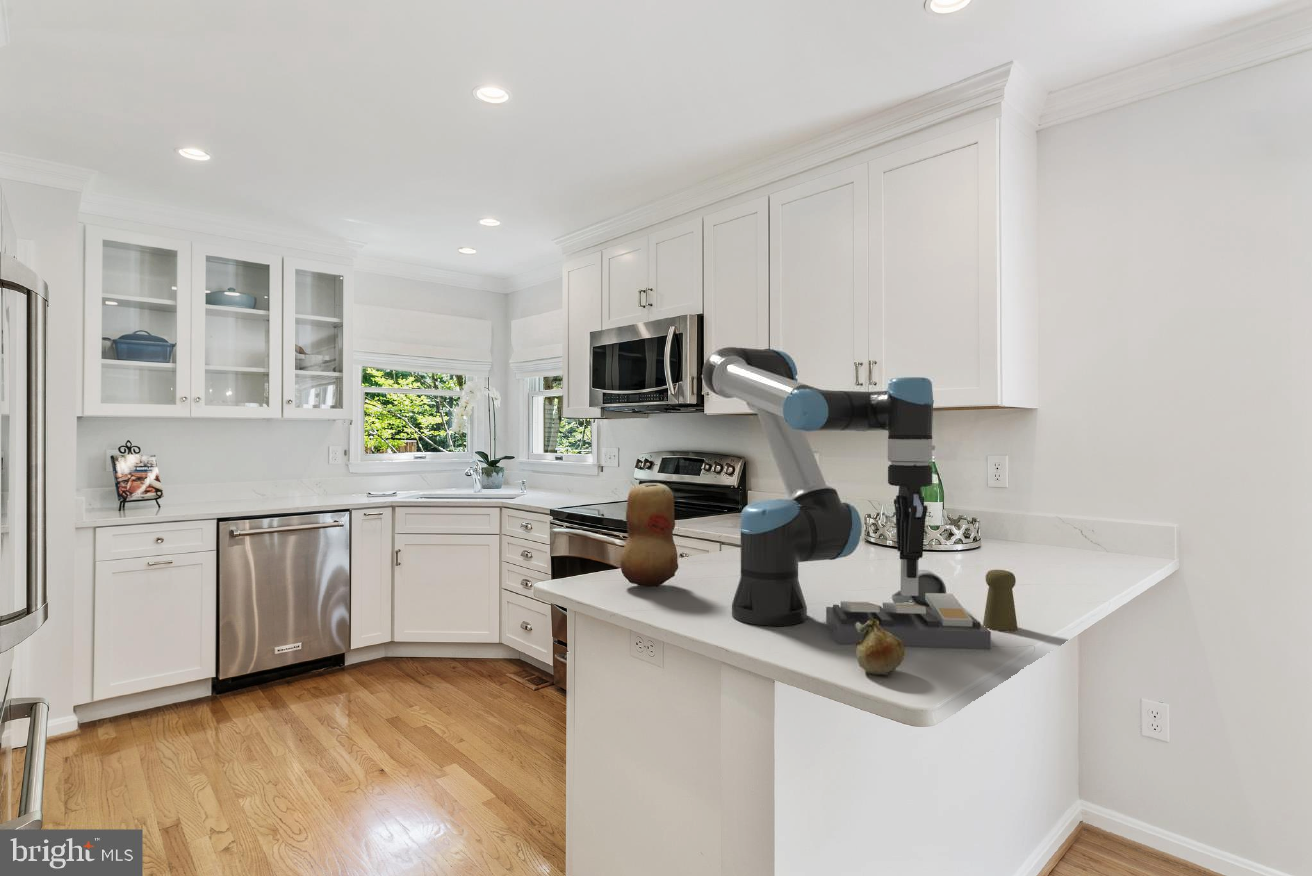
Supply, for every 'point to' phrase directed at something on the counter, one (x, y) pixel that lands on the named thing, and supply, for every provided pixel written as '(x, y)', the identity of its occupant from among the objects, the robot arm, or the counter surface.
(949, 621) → the right rocker
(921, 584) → the ceramic mug
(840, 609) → the rocker switch panel
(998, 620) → the cork
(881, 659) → the onion
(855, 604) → the left rocker
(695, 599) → the counter surface
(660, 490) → the butternut squash
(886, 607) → the block
